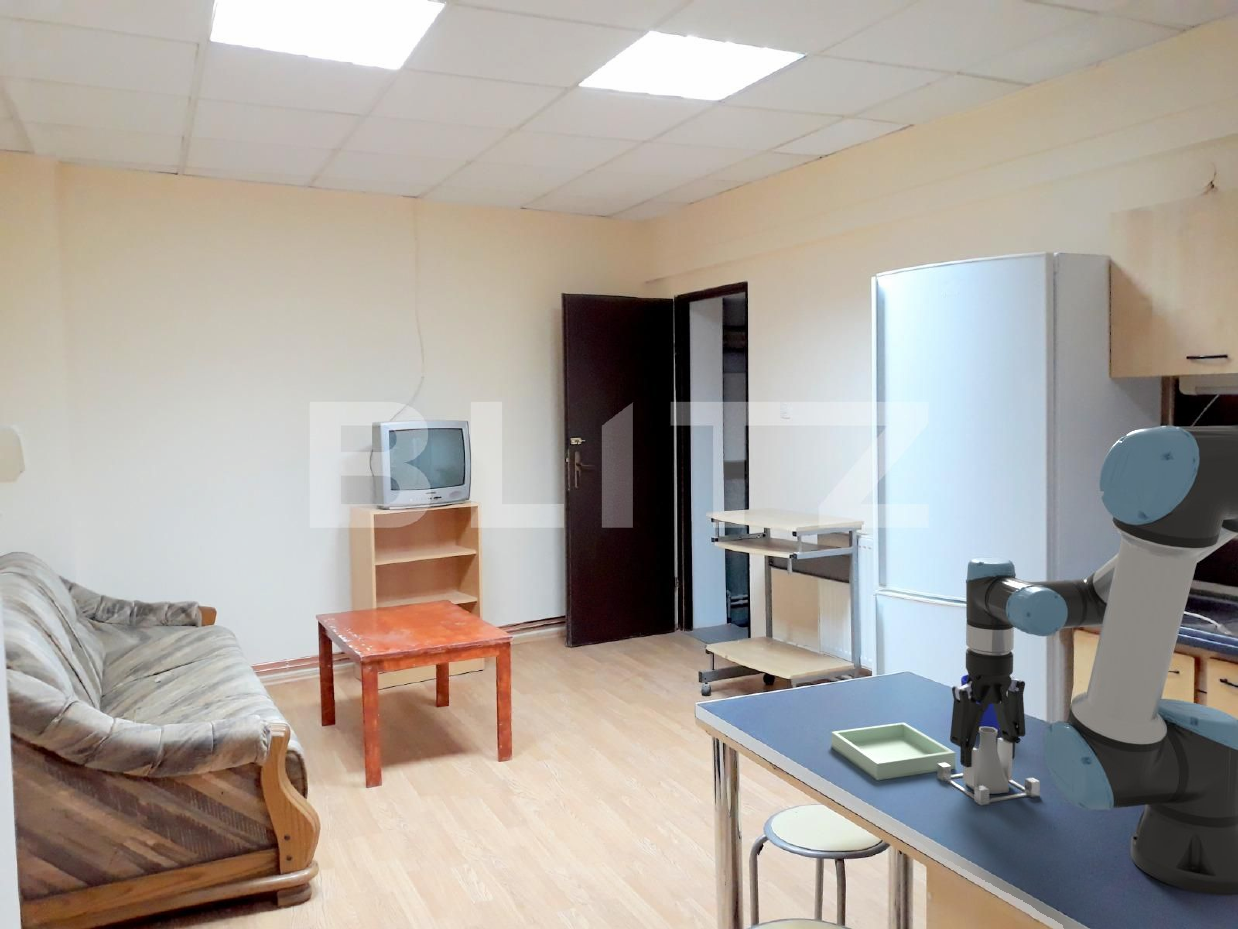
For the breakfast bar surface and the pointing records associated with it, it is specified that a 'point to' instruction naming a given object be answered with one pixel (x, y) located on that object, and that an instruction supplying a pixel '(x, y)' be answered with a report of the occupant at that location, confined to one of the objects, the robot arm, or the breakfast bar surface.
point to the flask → (990, 763)
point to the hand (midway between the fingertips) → (987, 780)
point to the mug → (989, 715)
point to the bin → (891, 750)
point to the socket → (982, 792)
